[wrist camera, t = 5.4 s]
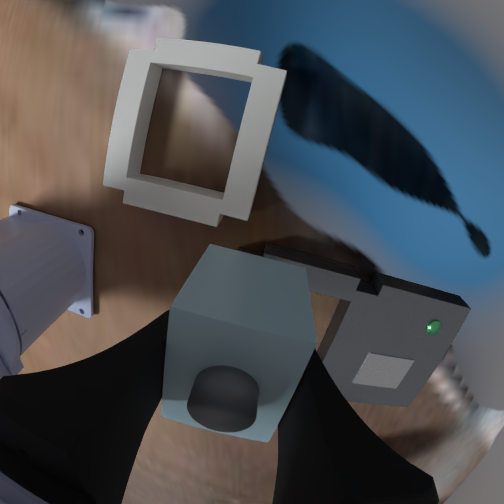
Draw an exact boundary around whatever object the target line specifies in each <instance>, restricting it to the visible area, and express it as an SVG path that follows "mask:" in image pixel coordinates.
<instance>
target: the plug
mask: <svg viewBox="0 0 504 504" xmlns="http://www.w3.org/2000/svg"><path fill="white" fill-rule="evenodd" d="M316 344H317V338H316V331H315V324H314V317H313V311H312V304H311V298H310V291H309V285H308V279H307V273H306V268H304V267H300V266H296V265H292V264H288V263H284V262H280V261H276V260H272V259H268V258H264V257H260V256H256V255H253V254H249V253H245V252H241V251H237V250H233V249H229V248H225V247H221V246H217V245H213V244H209V246H208V248H207V249H206V251H205V252H204V254H203V255H202V257H201V258H200V260H199V261H198V263H197V265H196V266H195V268H194V269H193V271H192V272H191V274H190V276H189V277H188V279H187V280H186V282H185V283H184V285H183V287H182V288H181V290H180V291H179V293H178V295H177V296H176V298H175V299H174V301H173V303H172V304H171V306H170V312H169V321H168V331H167V341H166V352H165V363H164V376H163V391H162V407H161V417H164V418H167V419H170V420H174V421H177V422H180V423H184V424H187V425H191V426H195V427H198V428H202V429H206V430H210V431H214V432H218V433H223V434H227V435H231V436H236V437H241V438H246V439H251V440H256V441H262V442H269V440H270V439H271V437H272V435H273V433H274V431H275V429H276V427H277V425H278V423H279V422H280V420H281V418H282V416H283V414H284V412H285V410H286V408H287V406H288V404H289V402H290V400H291V398H292V396H293V394H294V392H295V390H296V388H297V385H298V383H299V381H300V379H301V377H302V375H303V373H304V371H305V368H306V366H307V364H308V362H309V360H310V358H311V355H312V353H313V351H314V349H315V346H316Z"/></svg>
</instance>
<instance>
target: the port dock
mask: <svg viewBox="0 0 504 504" xmlns="http://www.w3.org/2000/svg"><path fill="white" fill-rule="evenodd" d="M237 251H241V252H245V253H249V254H253V255H256V256H260V257H264V258H268V259H272V260H276V261H280V262H284V263H288V264H292V265H296V266H300V267H304V268H306V273H307V279H308V285H309V291H311V292H315V293H319V294H323V295H327V296H331V297H335V298H339V299H340V301H339V304H338V306H337V308H336V311H335V313H334V315H333V318H332V320H331V322H330V324H329V327H328V329H327V331H326V333H325V335H324V338H323V340H322V342H321V344H320V346H319V348H318V351H317V353H318V355H319V357H320V359H321V360H322V362H323V364H324V366H325V367H326V369H327V371H328V373H329V374H330V376H331V378H332V379H333V381H334V382H335V384H336V386H337V387H338V389H339V390H340V392H341V393H342V395H343V396H344V397H345V399H346V400H347V401H351V402H359V403H368V404H378V405H389V406H402V407H408V406H409V405H410V403H411V402H412V401H413V399H414V398H415V397H416V395H417V394H418V393H419V391H420V390H421V388H422V387H423V386H424V384H425V383H426V381H427V380H428V379H429V377H430V376H431V374H432V373H433V371H434V370H435V368H436V367H437V365H438V364H439V362H440V361H441V359H442V358H443V356H444V355H445V353H446V351H447V350H448V348H449V346H450V345H451V343H452V342H453V340H454V338H455V336H456V335H457V333H458V331H459V330H460V328H461V326H462V324H463V322H464V321H465V319H466V317H467V315H468V313H469V311H470V310H471V308H470V307H469V306H468V305H467V304H466V303H465V302H464V300H462V298H461V297H460V296H458V295H455V294H451V293H448V292H444V291H441V290H437V289H434V288H430V287H427V286H423V285H420V284H416V283H412V282H409V281H405V280H402V279H399V278H395V277H392V276H388V275H384V274H381V273H377V272H375V273H374V275H373V277H372V280H371V282H368V281H364V280H360V277H359V275H358V273H357V271H356V269H355V267H354V266H352V265H349V264H345V263H341V262H338V261H334V260H330V259H327V258H323V257H319V256H316V255H312V254H308V253H305V252H301V251H297V250H294V249H290V248H286V247H282V246H279V245H275V244H271V243H267V242H266V244H265V248H264V251H263V253H259V252H255V251H251V250H248V249H244V248H240V247H239V248H238V250H237Z"/></svg>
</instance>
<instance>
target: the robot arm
mask: <svg viewBox="0 0 504 504" xmlns="http://www.w3.org/2000/svg"><path fill="white" fill-rule="evenodd" d="M9 215H10V216H9V217H7V218H4V219H2V220H0V504H121V503H122V499H123V496H124V492H125V489H126V486H127V483H128V479H129V476H130V473H131V470H132V467H133V464H134V461H135V458H136V455H137V452H138V449H139V447H140V444H141V441H142V438H143V436H144V433H145V430H146V428H147V426H148V424H149V422H150V420H151V418H152V416H153V414H154V412H155V410H156V408H157V406H158V404H159V402H160V400H161V398H162V391H163V376H164V363H165V352H166V341H167V331H168V321H169V312H170V310H168V311H166V312H164V313H163V314H162V315H160V316H159V317H158V318H156V319H155V320H154V321H152V322H151V323H149V324H148V325H146V326H145V327H144V328H142V329H140V330H139V331H137V332H136V333H134V334H133V335H131V336H130V337H128V338H126V339H125V340H123V341H121V342H119V343H118V344H116V345H114V346H112V347H110V348H108V349H106V350H104V351H102V352H100V353H98V354H96V355H94V356H91V357H89V358H86V359H84V360H81V361H78V362H75V363H72V364H69V365H66V366H62V367H58V368H54V369H50V370H46V371H41V372H35V373H29V374H20V375H17V374H18V373H19V372H20V371H21V370H22V368H23V364H22V362H21V359H20V356H21V355H22V354H23V353H24V352H25V351H26V350H27V348H28V347H29V346H30V345H31V344H32V343H33V342H34V341H35V340H36V339H37V338H38V337H39V336H40V335H41V334H42V333H43V332H44V331H45V330H46V329H47V328H48V327H49V326H50V325H51V324H52V323H54V322H55V321H56V320H57V319H58V318H59V317H60V316H61V315H62V314H63V313H64V312H65V311H66V310H70V311H72V312H74V313H77V314H79V315H82V316H84V317H87V318H91V317H92V316H93V313H94V312H93V251H94V231H93V229H92V228H91V227H89V226H86V225H83V224H80V223H76V222H73V221H69V220H66V219H63V218H59V217H56V216H53V215H49V214H46V213H43V212H39V211H36V210H33V209H29V208H26V207H23V206H20V205H16V204H13V205H11V206H10V209H9ZM81 229H82V230H83V232H84V234H82V232H81ZM82 309H83V310H84V311H83V310H82ZM438 502H439V498H438V494H437V490H436V487H435V483H434V480H433V477H432V476H430V475H429V474H427V473H425V472H424V471H422V470H421V469H419V468H417V467H416V466H414V465H412V464H411V463H409V462H408V461H407V460H405V459H404V458H403V457H401V456H400V455H399V454H397V453H396V452H395V451H394V450H392V449H391V448H390V447H389V446H388V445H386V444H385V443H384V442H383V441H382V440H381V439H380V438H379V437H378V436H377V435H376V434H375V433H374V432H373V431H372V430H371V429H370V428H369V427H368V426H367V425H366V424H365V423H364V421H363V420H362V419H361V418H360V417H359V416H358V415H357V413H356V412H355V411H354V410H353V408H352V407H351V406H350V404H349V403H348V402H347V400H346V399H345V397H344V396H343V395H342V393H341V392H340V390H339V389H338V387H337V386H336V384H335V382H334V381H333V379H332V378H331V376H330V374H329V373H328V371H327V369H326V367H325V366H324V364H323V362H322V360H321V359H320V357H319V355H318V353H317V351H316V350H315V349H314V351H313V353H312V355H311V358H310V360H309V362H308V364H307V366H306V368H305V371H304V373H303V375H302V377H301V379H300V381H299V383H298V385H297V388H296V390H295V392H294V394H293V396H292V398H291V400H290V402H289V404H288V406H287V408H286V410H285V412H284V414H283V416H282V418H281V420H280V422H279V423H278V467H277V475H276V483H275V490H274V497H273V504H438Z"/></svg>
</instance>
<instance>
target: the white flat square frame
mask: <svg viewBox="0 0 504 504" xmlns="http://www.w3.org/2000/svg"><path fill="white" fill-rule="evenodd" d="M262 61H263V58H262V54H261V51H258V50H253V49H248V48H242V47H237V46H231V45H224V44H217V43H210V42H202V41H193V40H182V39H169V38H158V39H157V42H156V45H155V48H154V50H146V49H130V52H129V55H128V59H127V62H126V66H125V70H124V74H123V78H122V82H121V86H120V90H119V94H118V99H117V103H116V108H115V112H114V117H113V122H112V128H111V133H110V139H109V145H108V151H107V158H106V164H105V172H104V180H103V186H107V187H111V188H116V189H120V190H124V197H123V203H124V204H128V205H132V206H136V207H140V208H144V209H148V210H152V211H156V212H160V213H164V214H168V215H172V216H176V217H180V218H183V219H187V220H191V221H195V222H199V223H203V224H207V225H211V226H214V227H217V226H218V224H219V223H220V222H221V220H222V219H223V215H226V216H230V217H234V218H238V219H242V220H246V221H248V218H249V216H250V213H251V209H252V206H253V202H254V198H255V194H256V190H257V186H258V182H259V178H260V175H261V171H262V167H263V163H264V159H265V155H266V151H267V148H268V144H269V140H270V136H271V133H272V129H273V125H274V121H275V117H276V114H277V110H278V106H279V103H280V99H281V95H282V91H283V88H284V84H285V80H286V74H287V71H286V70H282V69H278V68H273V67H269V66H265V65H262ZM163 69H171V70H179V71H187V72H196V73H202V74H208V75H214V76H220V77H226V78H231V79H237V80H242V81H247V82H252V84H251V88H250V92H249V96H248V100H247V103H246V107H245V111H244V115H243V119H242V123H241V126H240V130H239V134H238V138H237V142H236V146H235V150H234V154H233V159H232V163H231V167H230V171H229V175H228V179H227V184H226V188H225V192H224V193H223V192H219V191H215V190H211V189H207V188H203V187H199V186H195V185H190V184H186V183H182V182H177V181H173V180H169V179H164V178H160V177H155V176H150V175H146V174H141V173H140V171H141V165H142V159H143V154H144V148H145V143H146V138H147V133H148V128H149V123H150V119H151V114H152V110H153V105H154V101H155V97H156V93H157V89H158V85H159V81H160V77H161V73H162V70H163Z"/></svg>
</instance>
